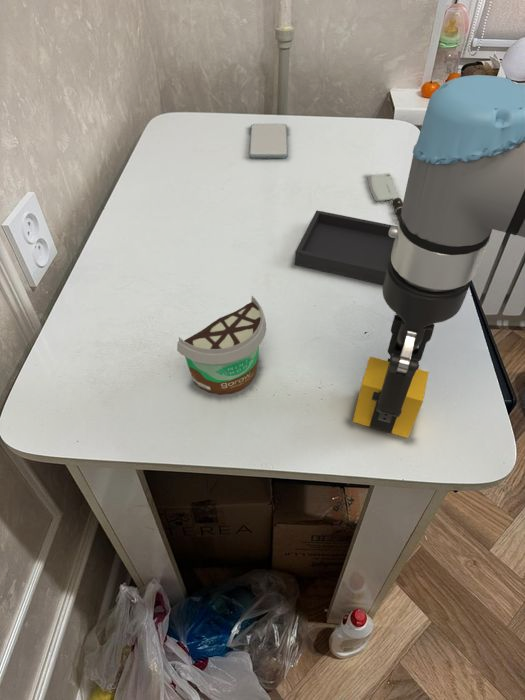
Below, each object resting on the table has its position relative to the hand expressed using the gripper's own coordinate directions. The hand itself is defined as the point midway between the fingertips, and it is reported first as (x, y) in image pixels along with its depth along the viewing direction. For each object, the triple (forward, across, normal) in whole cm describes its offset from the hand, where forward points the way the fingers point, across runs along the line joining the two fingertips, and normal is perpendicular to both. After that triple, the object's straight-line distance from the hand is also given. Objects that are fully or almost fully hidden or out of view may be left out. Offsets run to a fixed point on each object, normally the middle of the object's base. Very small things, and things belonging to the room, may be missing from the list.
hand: (385, 410), depth 63 cm
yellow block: (+1, 0, 0) cm, 1 cm away
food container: (+1, +1, -20) cm, 20 cm away
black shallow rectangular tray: (+1, -31, -11) cm, 33 cm away
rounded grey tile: (+1, -63, -38) cm, 74 cm away
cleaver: (+1, -49, -9) cm, 50 cm away
